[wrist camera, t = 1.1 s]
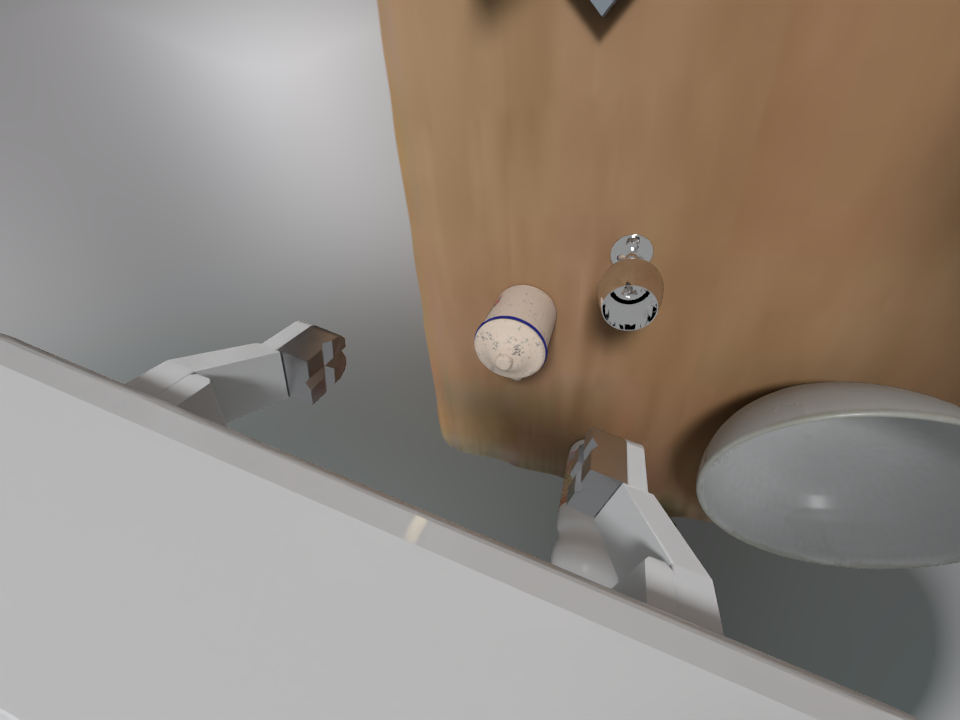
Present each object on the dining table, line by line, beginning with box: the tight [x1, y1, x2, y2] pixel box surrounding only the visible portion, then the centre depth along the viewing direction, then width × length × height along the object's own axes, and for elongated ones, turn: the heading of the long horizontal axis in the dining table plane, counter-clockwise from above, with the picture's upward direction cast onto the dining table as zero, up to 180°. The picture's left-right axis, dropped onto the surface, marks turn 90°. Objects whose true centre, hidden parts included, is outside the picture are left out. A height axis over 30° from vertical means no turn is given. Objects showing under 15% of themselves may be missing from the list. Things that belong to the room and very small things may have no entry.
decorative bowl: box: [696, 382, 960, 569], centre depth 41 cm, size 27×27×12 cm
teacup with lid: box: [474, 285, 556, 381], centre depth 46 cm, size 12×9×12 cm
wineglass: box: [598, 234, 664, 331], centre depth 36 cm, size 6×6×12 cm
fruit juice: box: [551, 439, 619, 589], centre depth 53 cm, size 9×9×28 cm
